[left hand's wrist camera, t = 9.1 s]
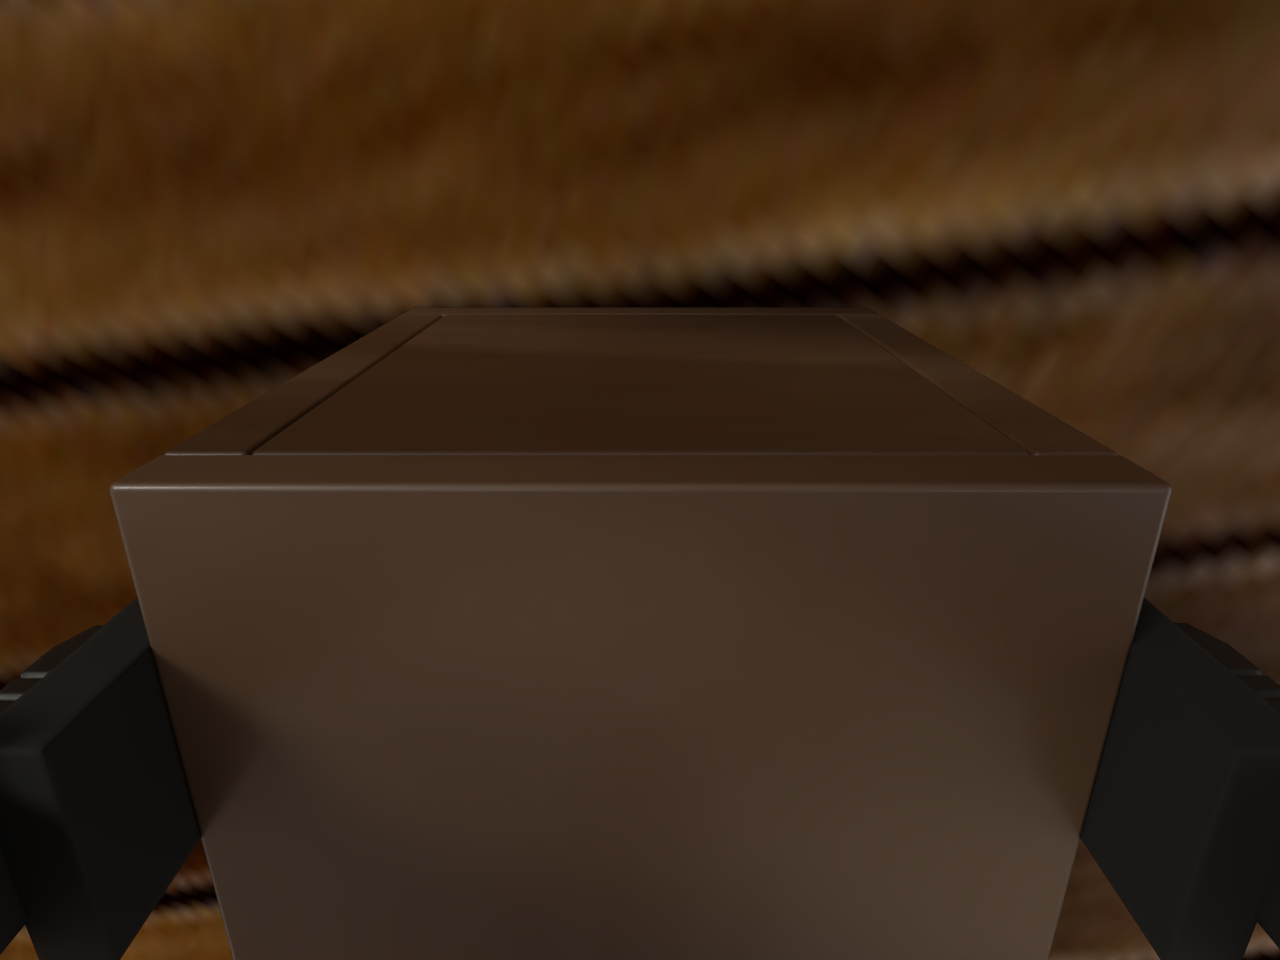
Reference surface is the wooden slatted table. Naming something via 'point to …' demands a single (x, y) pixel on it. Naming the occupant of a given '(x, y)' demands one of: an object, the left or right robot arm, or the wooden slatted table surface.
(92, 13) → the wooden slatted table surface
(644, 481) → the cabinet
